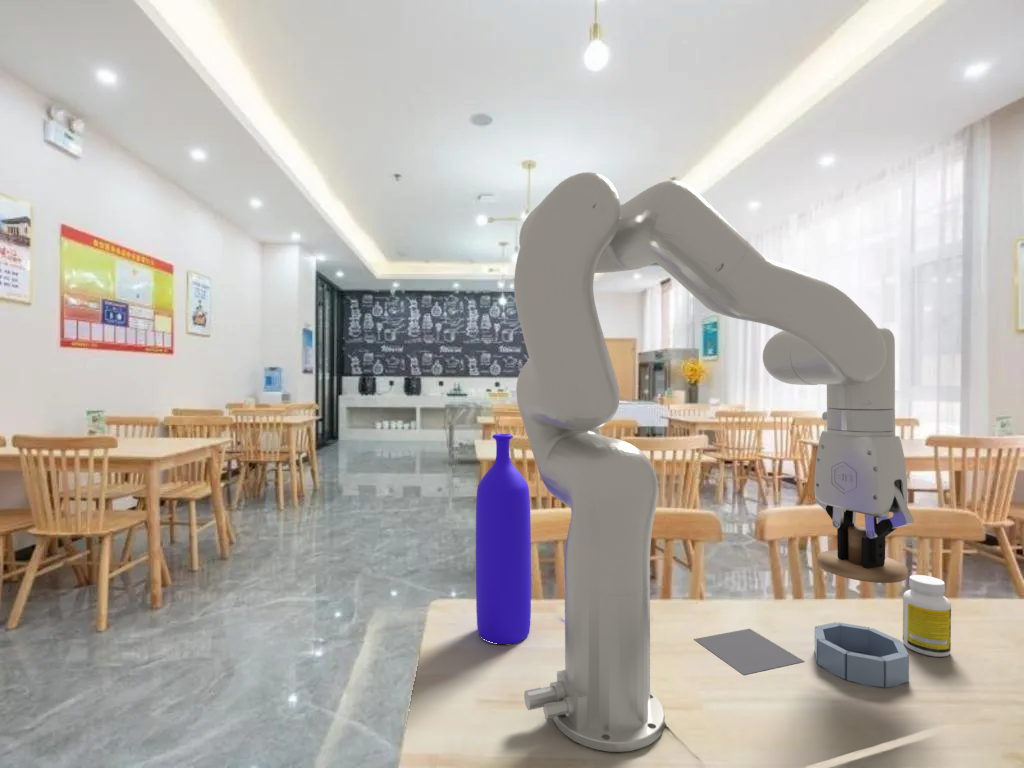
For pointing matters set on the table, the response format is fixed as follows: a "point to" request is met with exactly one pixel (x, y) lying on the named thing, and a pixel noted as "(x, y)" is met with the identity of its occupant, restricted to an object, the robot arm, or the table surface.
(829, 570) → the lid
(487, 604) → the bottle
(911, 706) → the table surface
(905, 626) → the supplement bottle
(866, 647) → the bowl
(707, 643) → the mat
